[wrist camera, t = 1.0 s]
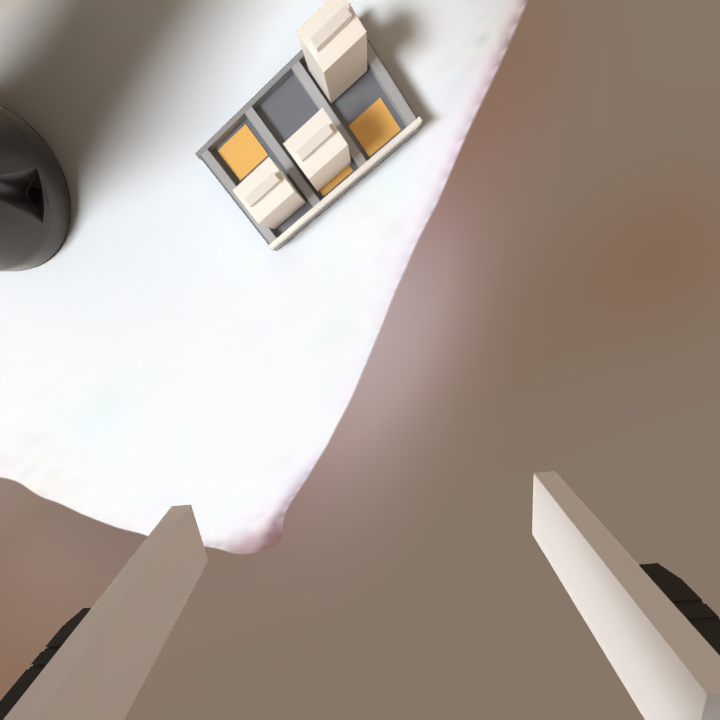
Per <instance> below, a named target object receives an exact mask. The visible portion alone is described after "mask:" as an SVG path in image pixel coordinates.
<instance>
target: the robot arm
mask: <svg viewBox="0 0 720 720" xmlns="http://www.w3.org/2000/svg"><path fill="white" fill-rule="evenodd" d="M69 218H70V202H69V194H68V189H67V185H66V182H65V178H64V176H63V173H62V171H61V168H60V166H59V164H58V162H57V160H56V158H55V156H54V155H53V153H52V151H51V150H50V148H49V147H48V146H47V144H46V143H45V142H44V140H43V139H42V138H41V137H40V136H39V135H38V133H37V132H36V131H35V130H34V129H33V128H32V127H31V126H29V125H28V124H27V123H26V122H25V121H23V120H22V119H21V118H19V117H18V116H17V115H15V114H14V113H12V112H10V111H8V110H7V109H4V108H2V107H0V271H23V270H28V269H31V268H34V267H37V266H39V265H41V264H43V263H44V262H46V261H47V260H48V259H50V258H51V257H52V256H53V255H54V254H55V253H56V252H57V250H58V249H59V247H60V246H61V244H62V242H63V240H64V238H65V235H66V233H67V229H68V225H69ZM532 534H533V536H534V537H535V539H536V541H537V542H538V544H539V546H540V547H541V549H542V551H543V552H544V554H545V556H546V557H547V559H548V560H549V562H550V564H551V566H552V567H553V569H554V570H555V572H556V574H557V575H558V577H559V579H560V580H561V582H562V584H563V585H564V587H565V589H566V590H567V592H568V594H569V595H570V597H571V598H572V600H573V602H574V603H575V605H576V607H577V608H578V610H579V612H580V613H581V615H582V616H583V618H584V620H585V621H586V623H587V625H588V626H589V628H590V630H591V631H592V633H593V635H594V636H595V638H596V640H597V641H598V643H599V645H600V646H601V648H602V649H603V651H604V653H605V654H606V656H607V658H608V659H609V661H610V663H611V664H612V666H613V668H614V669H615V671H616V673H617V674H618V676H619V677H620V679H621V680H622V682H623V684H624V686H625V687H626V689H627V691H628V692H629V694H630V696H631V697H632V699H633V701H634V702H635V704H636V706H637V707H638V709H639V711H640V712H641V714H642V715H643V717H644V719H645V720H720V619H719V617H718V616H717V615H716V614H715V613H714V612H713V611H712V610H711V609H710V608H709V607H708V606H707V605H706V604H704V603H703V602H702V600H701V598H700V597H698V595H697V594H695V592H694V591H693V590H692V589H691V588H690V587H689V586H687V584H686V583H685V582H684V581H683V580H682V579H680V578H679V577H677V576H675V575H674V574H673V573H671V572H669V571H668V570H667V569H665V568H664V567H662V566H661V565H659V564H658V563H654V564H641V565H638V564H637V563H636V562H635V561H634V559H633V558H632V557H631V556H630V555H629V554H628V553H627V551H626V550H625V549H624V548H623V547H622V546H621V545H620V544H619V543H618V541H617V540H616V539H615V538H614V537H613V536H612V535H611V534H610V533H609V532H608V530H607V529H606V528H605V527H604V526H603V525H602V523H600V521H599V520H598V519H597V518H596V517H595V516H594V515H593V513H592V512H591V511H590V510H589V509H588V508H587V507H586V506H585V504H583V502H582V501H581V500H580V499H579V498H578V497H577V496H576V494H575V493H574V492H573V491H572V490H571V489H570V488H569V487H568V486H567V484H566V483H565V482H564V481H563V480H562V479H561V478H560V477H559V475H558V474H557V473H556V472H543V473H534V484H533V523H532ZM207 561H208V559H207V555H206V552H205V549H204V545H203V542H202V539H201V536H200V533H199V529H198V526H197V523H196V520H195V517H194V513H193V510H192V507H191V505H183V506H172V507H171V508H170V509H169V511H168V512H167V513H166V515H165V516H164V517H163V518H162V520H161V521H160V522H159V523H158V525H157V526H156V527H155V528H154V530H153V531H152V532H151V534H150V535H149V536H148V537H147V539H146V540H145V541H144V542H143V544H142V545H141V546H140V547H139V549H138V550H137V551H136V553H135V554H134V555H133V556H132V558H131V559H130V560H129V561H128V563H127V564H126V565H125V566H124V568H123V569H122V570H121V571H120V573H119V574H118V576H117V577H116V578H115V579H114V581H113V582H112V583H111V584H110V585H109V587H108V588H107V589H106V590H105V592H104V593H103V594H102V596H101V597H100V598H99V599H98V601H97V602H96V603H95V604H94V606H93V607H92V608H83V609H82V610H81V611H80V612H79V613H78V614H76V615H75V616H74V617H73V618H72V619H71V620H69V621H68V622H67V623H66V624H65V625H64V626H62V628H61V629H60V630H59V631H58V633H57V634H56V635H55V636H54V637H53V638H52V640H51V641H50V642H49V643H48V644H47V646H46V647H45V650H44V651H43V652H41V653H40V654H39V656H37V658H36V659H35V660H34V661H33V663H32V664H31V666H30V668H29V669H27V670H26V671H25V672H24V673H23V675H22V676H21V677H20V678H19V679H18V681H17V682H16V683H15V684H14V685H13V687H12V688H11V689H10V690H9V691H8V693H7V694H6V695H5V696H4V697H3V699H2V700H1V701H0V720H124V719H125V717H126V715H127V713H128V711H129V710H130V708H131V706H132V704H133V702H134V700H135V698H136V696H137V694H138V693H139V691H140V689H141V687H142V685H143V683H144V681H145V679H146V677H147V675H148V674H149V672H150V669H151V668H152V666H153V664H154V662H155V660H156V658H157V657H158V655H159V653H160V651H161V649H162V647H163V645H164V643H165V641H166V639H167V638H168V636H169V634H170V632H171V630H172V628H173V626H174V624H175V622H176V620H177V619H178V617H179V615H180V613H181V611H182V609H183V607H184V605H185V603H186V601H187V600H188V598H189V596H190V594H191V592H192V590H193V588H194V586H195V584H196V583H197V581H198V579H199V577H200V575H201V573H202V571H203V569H204V567H205V566H206V563H207Z"/></svg>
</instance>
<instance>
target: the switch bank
mask: <svg viewBox="0 0 720 720" xmlns="http://www.w3.org/2000/svg"><path fill="white" fill-rule="evenodd" d="M349 4H350V3H349ZM350 6H351V5H350ZM322 107H323V109H324V110H325V112H326V113H327V115H328V116H329V118H330V119H331V121H332V122H333V124H334V125H335V127H336V128H337V130H338V131H339V132H340V134H341V135H342V137H343V138H344V140H345V141H346V143H347V144H348V148H349V154H350V159H351V164H350V165H349V166H348V167H346V168H345V169H344V170H343V171H342V172H341V173H340V174H338V175H337V176H336V177H335V178H334V179H333V180H331V181H330V182H329V183H328V184H327V185H326V186H324V187H323V188H322V189H321V190H320V191H319V192H317V190H316V189H315V188H314V186H313V185H312V183H311V182H310V181H309V179H308V178H307V176H306V175H305V174H304V172H303V171H302V170H301V168H300V167H299V165H298V164H297V163H296V161H295V160H294V158H293V157H292V156H291V154H290V153H289V152H288V150H287V149H286V147H285V146H284V145H283V143H284V142H286V141H287V140H288V139H289V138H290V137H291V136H292V135H293V134H294V133H295V132H296V131H297V130H299V129H300V128H301V127H302V126H303V125H304V124H305V123H306V122H307V121H308V120H309V119H311V118H312V117H313V116H314V115H315V114H316V113H317V112H318V111H319V110H320V109H321V108H322ZM421 123H422V119H421V118H420V116H419V117H418V118H417V117H416V116H415V114H414V113H413V111H412V109H411V108H410V106H409V105H408V103H407V101H406V100H405V98H404V97H403V95H402V93H401V92H400V90H399V89H398V87H397V85H396V84H395V82H394V81H393V79H392V77H391V76H390V74H389V73H388V71H387V69H386V68H385V66H384V64H383V63H382V61H381V60H380V58H379V56H378V55H377V53H376V52H375V50H374V48H373V47H372V45H371V44H370V42H369V40H368V39H367V71H366V72H365V73H364V74H363V75H362V76H361V77H360V78H359V79H358V80H356V81H355V82H354V83H353V84H352V85H351V86H350V87H349V88H348V89H347V90H346V91H344V92H343V93H342V94H341V95H340V96H339V97H338V98H337V99H336V100H335V101H334V102H332V103H331V102H330V101H329V99H328V98H327V96H326V95H325V94H324V92H323V91H322V89H321V88H320V86H319V85H318V83H317V82H316V80H315V79H314V77H313V76H312V74H311V73H310V71H309V69H308V66H307V63H306V60H305V57H304V54H303V50H301V51H300V52H299V53H298V54H297V55H296V56H295V57H294V58H293V59H292V60H291V61H290V62H289V63H288V64H287V65H286V66H285V67H283V68H282V69H281V70H280V71H279V72H278V73H277V74H276V75H275V76H274V77H273V78H272V79H271V80H270V81H269V82H268V83H267V84H266V85H265V86H264V87H263V88H262V89H261V90H260V91H259V92H258V93H257V94H256V95H255V96H254V97H253V98H252V99H251V100H250V101H249V102H248V103H247V104H246V105H245V106H244V107H243V108H241V109H240V110H239V111H238V112H237V113H236V114H235V115H234V116H233V117H232V118H231V119H230V120H229V121H228V122H227V123H226V124H225V125H224V126H223V127H222V128H221V129H220V130H219V131H218V132H217V133H216V134H215V135H214V136H213V137H212V138H211V139H210V140H209V141H208V142H207V143H206V144H205V145H204V146H203V147H202V148H201V149H200V150H198V151H197V152H196V153H195V154H196V155H197V157H198V158H199V159H201V160H203V162H204V163H205V164H206V165H207V167H208V168H209V169H210V170H211V172H212V173H213V174H214V176H215V177H216V178H217V179H218V181H219V182H220V183H221V185H222V186H223V187H224V188H225V190H226V191H227V192H228V193H229V195H230V196H231V197H232V199H233V200H234V201H235V202H236V204H237V205H238V206H239V208H240V209H241V210H242V211H243V213H244V214H245V215H246V216H247V218H248V219H249V220H250V222H251V223H252V224H253V225H254V227H255V228H256V229H257V231H258V232H259V233H260V234H261V236H262V237H263V238H264V239H265V241H266V242H267V243H268V247H269V249H270V250H276V251H277V250H278V249H280V248H281V247H282V246H283V245H284V244H286V243H287V242H288V241H289V240H290V239H291V238H293V237H294V236H295V235H296V234H297V233H299V232H300V231H301V230H302V229H303V228H304V227H306V226H307V225H308V224H309V223H310V222H312V221H313V220H314V219H315V218H316V217H317V216H319V215H320V214H321V213H322V212H323V211H325V210H326V209H327V208H328V207H329V206H330V205H332V204H333V203H334V202H335V201H336V200H338V199H339V198H340V197H341V196H342V195H343V194H345V193H346V192H347V191H348V190H349V189H351V188H352V187H353V186H354V185H355V184H356V183H358V182H359V181H360V180H361V179H362V178H364V177H365V176H366V175H367V174H368V173H369V172H371V171H372V170H373V169H374V168H375V167H377V166H378V165H379V164H380V163H381V162H382V161H384V160H385V159H386V158H387V157H388V156H390V155H391V154H392V153H393V152H394V151H395V150H397V149H398V148H399V147H400V146H401V145H403V144H404V143H405V142H406V141H407V140H408V139H410V138H411V137H412V136H413V135H414V134H416V133H417V132H418V131H419V128H420V125H421ZM268 157H270V158H271V159H272V161H273V162H274V163H275V164H276V165H277V166H278V167H279V168H280V169H281V170H282V171H283V172H284V173H285V175H286V176H287V177H288V179H289V180H290V181H291V183H292V184H293V186H294V187H295V188H296V190H297V191H298V192H299V194H300V195H301V196H302V198H303V199H304V200H305V202H306V203H305V204H304V205H302V206H301V207H300V208H299V209H298V210H297V211H295V212H294V213H293V214H292V215H291V216H290V217H289V218H287V219H286V220H285V221H284V222H283V223H282V224H280V225H279V226H278V227H277V228H276V229H275V230H274V229H272V228H269V227H266V226H264V225H261V224H258V223H257V222H256V220H255V219H254V218H253V216H252V215H251V214H250V213H249V211H248V210H247V209H246V207H245V206H244V205H243V204H242V202H241V201H240V200H239V198H238V197H237V196H236V195H235V193H234V192H233V191H232V190H233V189H234V188H236V187H237V186H238V185H239V184H240V183H241V182H242V181H243V180H244V179H245V178H246V177H248V176H249V175H250V174H251V173H252V172H253V171H254V170H255V169H256V168H257V167H258V166H259V165H261V164H262V163H263V162H264V161H265V160H266V159H267V158H268Z"/></svg>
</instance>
